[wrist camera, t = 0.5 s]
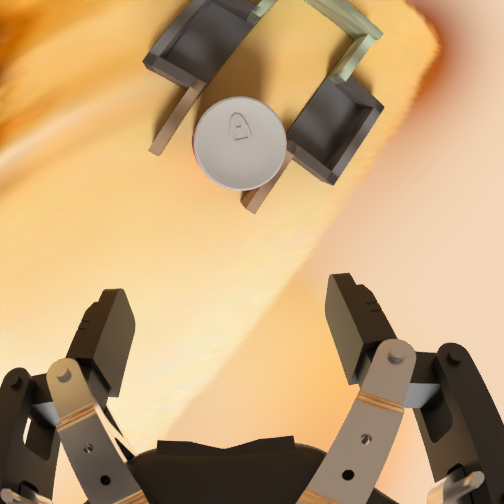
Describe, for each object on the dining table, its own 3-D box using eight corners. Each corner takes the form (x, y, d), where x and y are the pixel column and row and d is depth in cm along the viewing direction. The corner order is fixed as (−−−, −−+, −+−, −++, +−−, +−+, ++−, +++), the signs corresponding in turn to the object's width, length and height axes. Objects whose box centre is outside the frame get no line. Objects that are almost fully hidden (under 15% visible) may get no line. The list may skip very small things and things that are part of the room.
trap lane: (286, 231, 39) (299, 243, 35) (109, 125, 29) (98, 124, 25) (394, 69, 33) (414, 66, 29) (247, -42, 24) (254, -59, 20)
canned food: (238, 97, 31) (260, 80, 21) (269, 155, 35) (303, 164, 25) (178, 128, 31) (174, 124, 21) (212, 187, 35) (224, 208, 25)
